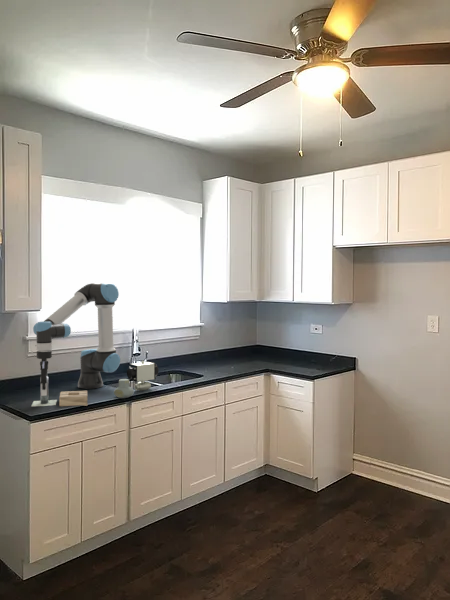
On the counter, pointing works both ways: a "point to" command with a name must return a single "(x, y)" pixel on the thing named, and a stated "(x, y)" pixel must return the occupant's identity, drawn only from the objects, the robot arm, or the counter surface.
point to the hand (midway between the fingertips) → (44, 394)
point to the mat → (38, 403)
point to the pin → (44, 398)
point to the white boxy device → (142, 374)
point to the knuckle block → (73, 398)
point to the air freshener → (123, 389)
